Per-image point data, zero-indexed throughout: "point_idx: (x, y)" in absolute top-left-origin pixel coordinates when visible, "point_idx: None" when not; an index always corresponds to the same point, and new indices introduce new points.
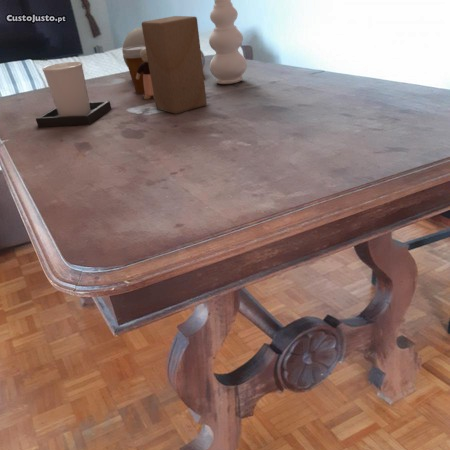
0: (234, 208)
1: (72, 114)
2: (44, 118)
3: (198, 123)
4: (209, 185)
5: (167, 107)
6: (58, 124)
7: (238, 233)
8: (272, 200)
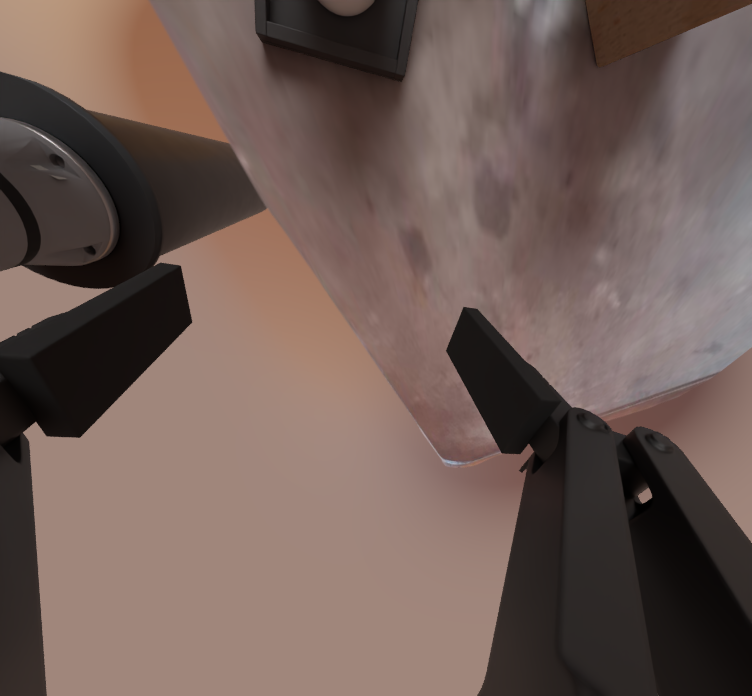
0: None
1: (353, 12)
2: (284, 41)
3: (608, 175)
4: None
5: (598, 30)
6: (322, 58)
7: None
8: None
